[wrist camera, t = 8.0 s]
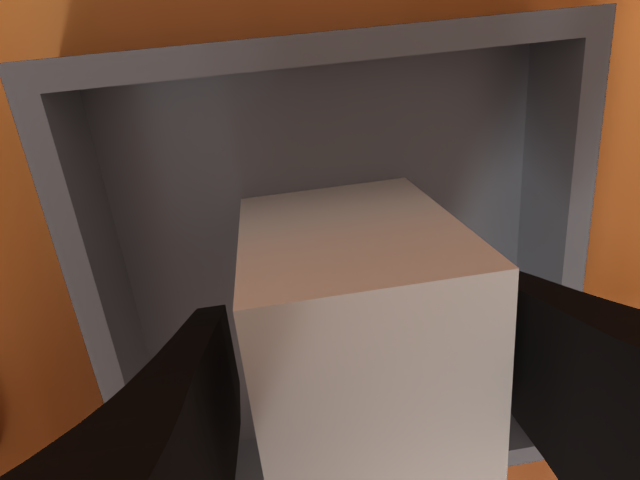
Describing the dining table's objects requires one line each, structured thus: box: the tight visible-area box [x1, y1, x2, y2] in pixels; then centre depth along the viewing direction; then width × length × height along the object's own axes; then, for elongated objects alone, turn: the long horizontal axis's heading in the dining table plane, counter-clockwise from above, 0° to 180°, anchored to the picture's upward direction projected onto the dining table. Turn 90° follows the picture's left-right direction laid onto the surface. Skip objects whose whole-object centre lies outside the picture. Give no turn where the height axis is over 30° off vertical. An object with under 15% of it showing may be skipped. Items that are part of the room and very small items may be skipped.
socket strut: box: [233, 178, 519, 480], centre depth 11 cm, size 4×4×6 cm
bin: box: [0, 3, 617, 480], centre depth 13 cm, size 12×12×3 cm
